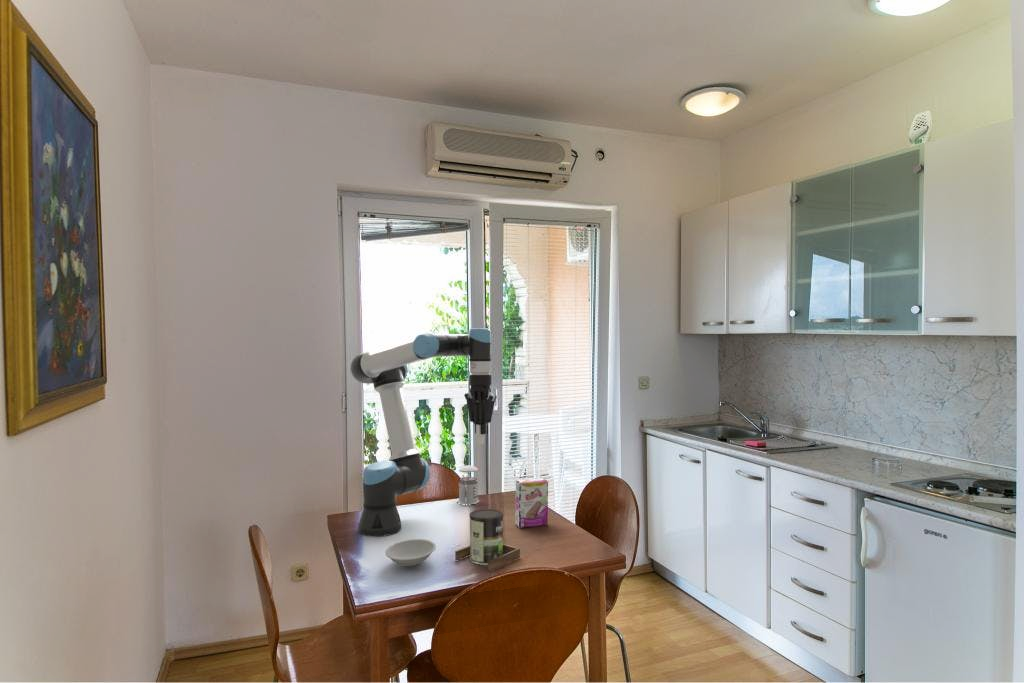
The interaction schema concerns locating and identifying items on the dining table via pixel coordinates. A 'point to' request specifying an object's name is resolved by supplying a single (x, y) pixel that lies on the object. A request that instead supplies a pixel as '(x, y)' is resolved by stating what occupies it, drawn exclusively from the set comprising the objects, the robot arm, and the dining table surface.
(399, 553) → the dish
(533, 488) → the candy bar box
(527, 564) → the dining table surface
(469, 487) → the french press
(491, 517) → the coffee can
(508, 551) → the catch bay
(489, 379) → the robot arm
